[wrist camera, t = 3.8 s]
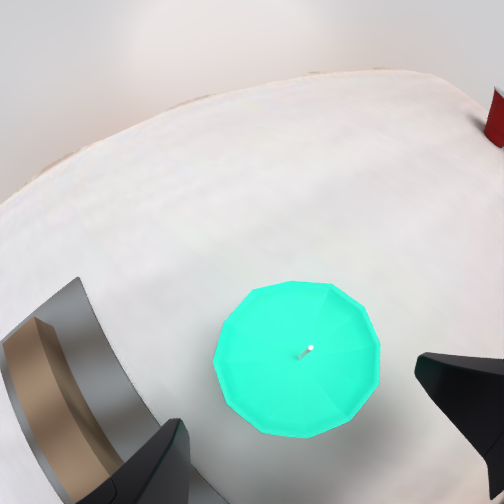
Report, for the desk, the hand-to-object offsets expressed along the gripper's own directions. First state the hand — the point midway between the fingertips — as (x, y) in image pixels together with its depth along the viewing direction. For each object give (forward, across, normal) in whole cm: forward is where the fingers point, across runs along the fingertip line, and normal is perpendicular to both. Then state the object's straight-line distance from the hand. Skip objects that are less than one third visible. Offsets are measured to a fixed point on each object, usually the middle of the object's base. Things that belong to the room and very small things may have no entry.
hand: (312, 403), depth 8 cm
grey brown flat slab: (+6, -16, -8) cm, 19 cm away
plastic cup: (+29, +59, +14) cm, 67 cm away
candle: (+8, 0, -6) cm, 10 cm away
